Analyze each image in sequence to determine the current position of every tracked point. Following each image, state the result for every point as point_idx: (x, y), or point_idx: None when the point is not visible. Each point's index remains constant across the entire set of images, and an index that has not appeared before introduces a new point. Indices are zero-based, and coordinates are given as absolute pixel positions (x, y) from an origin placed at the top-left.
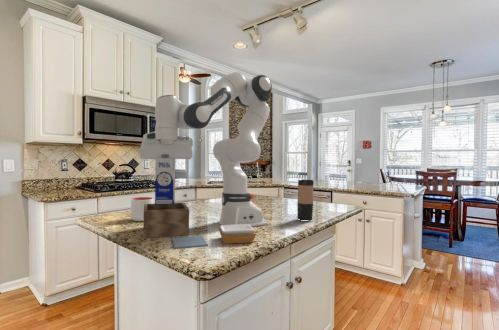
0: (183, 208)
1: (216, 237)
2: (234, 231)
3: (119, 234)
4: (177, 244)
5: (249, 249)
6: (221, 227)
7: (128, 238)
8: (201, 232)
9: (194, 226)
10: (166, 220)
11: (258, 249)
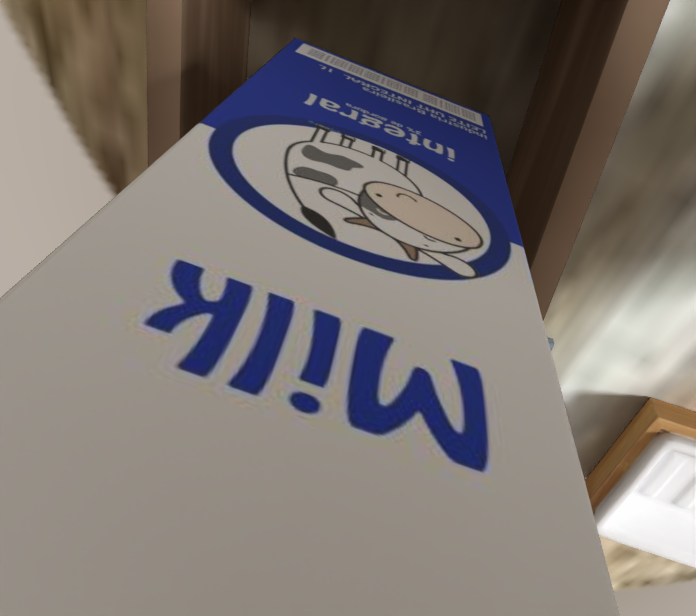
0: (550, 192)
1: (626, 379)
2: (648, 549)
3: (55, 31)
4: None
5: (632, 568)
6: (633, 484)
7: (127, 168)
8: (614, 241)
9: (680, 28)
10: None
11: (665, 582)
